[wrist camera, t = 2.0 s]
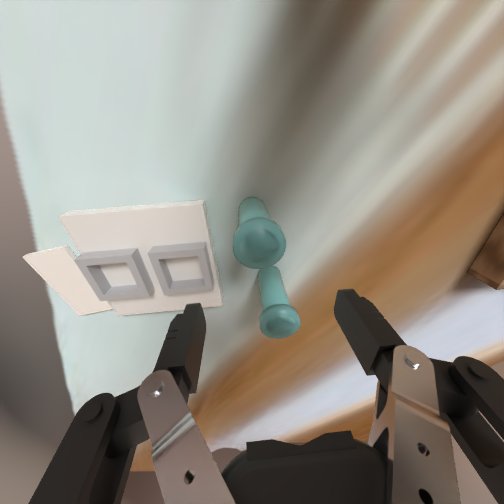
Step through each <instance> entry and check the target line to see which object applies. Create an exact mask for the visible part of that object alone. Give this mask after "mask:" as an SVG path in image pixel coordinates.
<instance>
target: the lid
mask: <svg viewBox="0 0 504 504" xmlns="http://www.w3.org/2000/svg"><path fill="white" fill-rule="evenodd" d="M23 258H24V259H25V260H26V261H27V262H28V263H29V264H30V265H31V266H32V267H33V268H34V270H35V271H36V272H37V273H38V274H39V275H40V276H41V277H42V278H43V279H44V280H45V281H46V282H47V283H48V284H49V285H50V286H51V287H52V288H53V289H54V290H55V291H56V292H57V293H58V294H59V295H60V296H61V297H62V298H63V299H64V300H65V301H66V302H67V303H68V304H69V305H70V306H71V307H72V308H73V309H74V310H75V311H76V312H77V313H78V314H79V315H80V316H81V315H86V314H91V313H96V312H100V311H105V310H110V309H114V308H113V307H112V305H111V303H110V302H109V300H108V301H100V300H99V299H98V297H97V296H96V294H95V292H94V291H93V289H92V288H91V286H90V285H89V283H88V282H87V280H86V278H85V277H84V275H83V274H82V272H81V271H80V269H79V267H78V266H77V264H76V263H75V261H74V259H76V258H77V256H76V255H75V254H74V253H73V251H72V250H71V249H70V248H69V246H68V245H65V246H61V247H56V248H52V249H47V250H43V251H38V252H34V253H29V254H27V255H25V256H23Z"/></svg>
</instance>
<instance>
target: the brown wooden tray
mask: <svg viewBox="0 0 504 504" xmlns="http://www.w3.org/2000/svg"><path fill="white" fill-rule="evenodd" d="M467 273H469V274H471V275H472V276H474V277H476V278H477V279H479V280H481V281H483V282H484V283H486V284H488V285H489V286H491V287H493V288H494V289H496V290H499V289H504V214H503V216H502V218H501V219H500V221H499V222H498V224H497V226H496V227H495V229H494V230H493V232H492V234H491V235H490V237H489V238H488V240H487V242H486V243H485V245H484V246H483V248H482V250H481V251H480V253H479V254H478V256H477V258H476V259H475V261H474V262H473V264H472V266H471V267H470V269H469V270H468V272H467Z"/></svg>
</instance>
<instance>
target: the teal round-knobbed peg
mask: <svg viewBox="0 0 504 504" xmlns="http://www.w3.org/2000/svg"><path fill="white" fill-rule="evenodd" d="M258 279H259V286H260V293H261V300H262V307H263V312H262V313H261V315H260V319H259V320H260V328H261V331H262V333H263V334H264V335H266V336H267V337H270V338H276V339H279V338H285V337H288V336H291V335H292V334H294V333H295V332H296V331H297V330H298V329H299V327H300V319H299V316H298V313H297V311H296V309H295V308H294V307H292V306H290V304H289V300H288V297H287V294H286V291H285V287H284V284H283V281H282V278H281V274H280V271H279V269H278V268H277V267H275V266H270V267H267V268H263V269H260V271H259V272H258Z"/></svg>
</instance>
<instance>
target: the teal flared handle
mask: <svg viewBox="0 0 504 504" xmlns="http://www.w3.org/2000/svg"><path fill="white" fill-rule="evenodd" d="M285 248H286V240H285V237H284V235H283V232H282V230H281V228H280V227H279V226H278V225H277V224H276V223H275V222H274V221H272V220H270V217H269V215H268V212H267V210H266V207H265V205H264V203H263V202H262V201H261V200H260V199H258V198H255V197H250V198H247V199H245V200H244V201H243V202H242V203H241V204H240V207H239V227H238V228H237V229H236V231H235V233H234V237H233V252H234V255H235V257H236V259H237V260H238V261H239V262H240V263H241V264H243V265H244V266H246V267H249V268H253V269H263V268H267V267H270V266H272V265H274V264H275V263H277V262H278V261H279V260H280V259H281V257H282V256H283V254H284V252H285Z"/></svg>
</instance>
